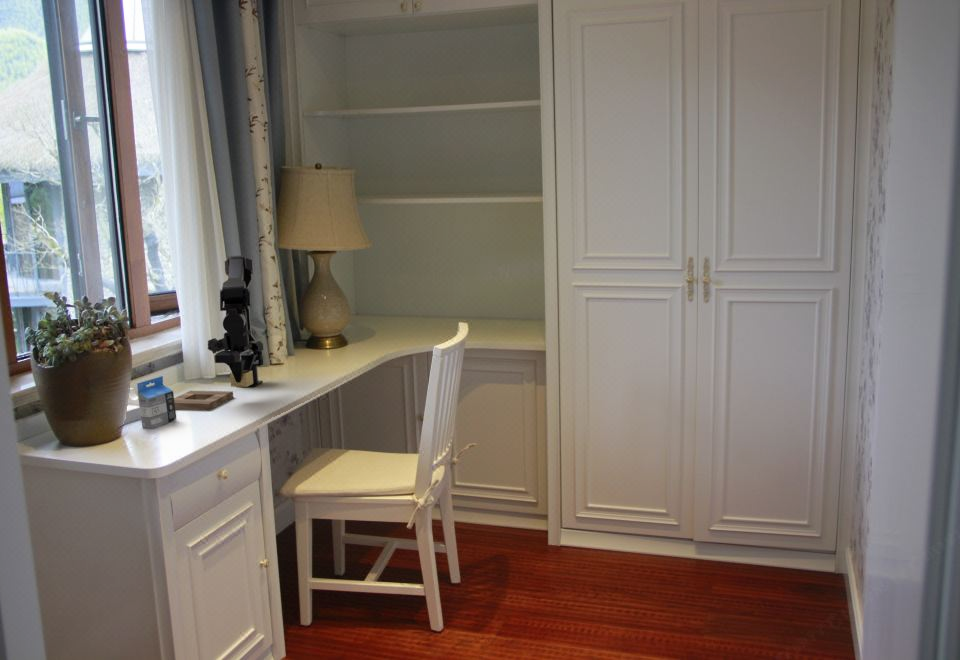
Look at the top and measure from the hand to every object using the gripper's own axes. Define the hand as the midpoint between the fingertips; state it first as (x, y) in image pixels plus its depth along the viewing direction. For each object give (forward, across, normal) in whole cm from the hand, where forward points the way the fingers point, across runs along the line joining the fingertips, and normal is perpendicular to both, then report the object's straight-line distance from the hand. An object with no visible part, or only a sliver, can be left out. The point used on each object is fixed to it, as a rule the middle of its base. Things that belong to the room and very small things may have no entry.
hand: (241, 380), depth 252 cm
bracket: (+7, +20, -26) cm, 33 cm away
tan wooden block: (+1, 0, 0) cm, 1 cm away
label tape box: (+7, +23, -13) cm, 27 cm away
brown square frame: (+7, +2, -13) cm, 15 cm away
